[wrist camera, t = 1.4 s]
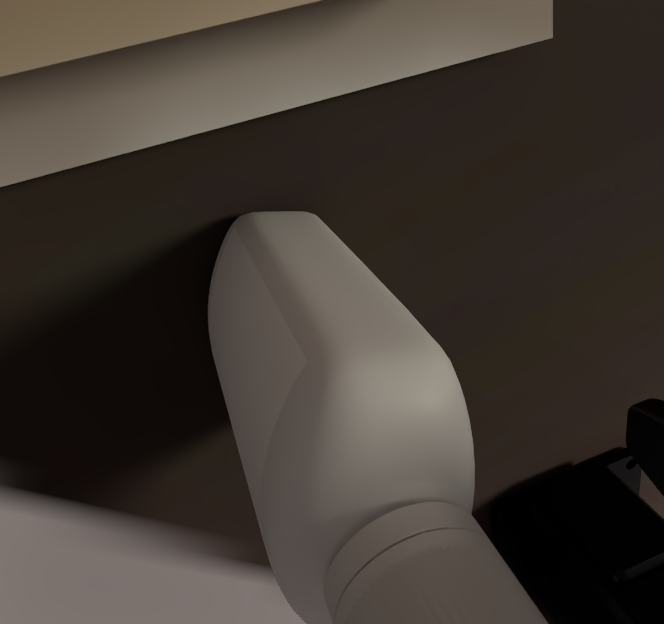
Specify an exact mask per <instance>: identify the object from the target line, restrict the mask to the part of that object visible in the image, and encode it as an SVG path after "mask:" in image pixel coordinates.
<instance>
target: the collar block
mask: <svg viewBox="0 0 664 624" xmlns="http://www.w3.org/2000/svg"><path fill="white" fill-rule="evenodd" d="M550 38H553V0H0V187H2V186H6V185H10V184H14V183H17V182H21V181H25V180H28V179H32V178H36V177H39V176H43V175H47V174H51V173H54V172H58V171H62V170H65V169H69V168H73V167H76V166H80V165H84V164H88V163H91V162H95V161H99V160H102V159H106V158H110V157H113V156H117V155H121V154H124V153H128V152H132V151H136V150H139V149H143V148H147V147H150V146H154V145H158V144H161V143H165V142H169V141H173V140H176V139H180V138H184V137H187V136H191V135H195V134H198V133H202V132H206V131H209V130H213V129H217V128H221V127H224V126H228V125H232V124H235V123H239V122H243V121H246V120H250V119H254V118H258V117H261V116H265V115H269V114H272V113H276V112H280V111H283V110H287V109H291V108H295V107H298V106H302V105H306V104H309V103H313V102H317V101H320V100H324V99H328V98H331V97H335V96H339V95H343V94H346V93H350V92H354V91H357V90H361V89H365V88H368V87H372V86H376V85H380V84H383V83H387V82H391V81H394V80H398V79H402V78H405V77H409V76H413V75H417V74H420V73H424V72H428V71H431V70H435V69H439V68H442V67H446V66H450V65H453V64H457V63H461V62H465V61H468V60H472V59H476V58H479V57H483V56H487V55H490V54H494V53H498V52H502V51H505V50H509V49H513V48H516V47H520V46H524V45H527V44H531V43H535V42H538V41H542V40H546V39H550Z"/></svg>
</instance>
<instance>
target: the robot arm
mask: <svg viewBox="0 0 664 624" xmlns="http://www.w3.org/2000/svg"><path fill="white" fill-rule="evenodd" d="M626 445H627V448H625V449H622V450H620V451H618V452H615V453H613V454H610V455H608V456H606V457H603V458H601V459H599V460H596V461H594V462H592V463H589V464H587V465H584V466H582V467H580V468H577V469H575V470H573V471H570V472H568V473H566V474H563V475H561V476H558V477H556V478H554V479H551V480H549V481H547V482H544V483H542V484H539V485H537V486H535V487H532V488H530V489H528V490H525V491H523V492H521V493H518V494H516V495H513V496H511V497H509V498H506V499H504V500H502V501H500V502H498V503H496V504H495V505H494V506H493V508H492V509H491V511H490V521H491V533H492V544H493V545H494V547H495V548H496V550H497V551H498V553H499V554H500V555H501V557H502V558H503V560H504V561H505V563H506V564H507V565H508V567H509V568H510V570H511V571H512V573H513V574H514V575H515V577H516V578H517V580H518V581H519V583H520V584H521V585H522V587H523V588H524V590H525V591H526V593H527V594H528V595H529V597H530V598H531V600H532V601H533V602H534V604H535V605H536V607H537V608H538V610H539V611H540V612H541V614H542V615H543V617H544V618H545V620H546V621H547V622H548V624H664V519H663V518H662V517H661V516H660V515H659V514H658V513H657V512H656V511H654V510H653V509H652V508H651V507H650V506H649V505H648V504H647V503H646V502H645V501H644V500H643V499H642V498H640V497H639V488H640V478H641V469H642V470H643V471H644V472H645V474H646V475H647V476H648V477H649V479H650V480H651V481H652V482H653V484H654V485H655V486H656V487H657V489H658V490H659V491H660V492H661V494H662V495H663V496H664V401H662V400H659V399H653V398H652V399H647V400H644V401H642V402H639V403H637V404H634V405H632V406H631V407H630V408H629V410H628V415H627V429H626Z"/></svg>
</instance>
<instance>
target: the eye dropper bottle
mask: <svg viewBox="0 0 664 624" xmlns="http://www.w3.org/2000/svg"><path fill="white" fill-rule="evenodd" d="M208 328H209V337H210V343H211V349H212V354H213V358H214V362H215V365H216V369H217V373H218V377H219V380H220V384H221V388H222V391H223V395H224V399H225V402H226V406H227V410H228V413H229V417H230V421H231V425H232V428H233V432H234V436H235V439H236V443H237V447H238V450H239V454H240V458H241V461H242V465H243V468H244V472H245V476H246V479H247V483H248V487H249V490H250V494H251V498H252V501H253V505H254V509H255V512H256V516H257V519H258V523H259V526H260V530H261V533H262V537H263V541H264V544H265V548H266V551H267V555H268V558H269V561H270V564H271V567H272V570H273V572H274V575H275V577H276V580H277V582H278V585H279V586H280V588H281V590H282V592H283V594H284V596H285V598H286V599H287V601H288V603H289V604H290V605H291V607H292V608H293V610H294V611H295V612H296V613H297V614H298V615H299V616H300V617H301V618H302V619H303V620H304V621H305V622H306V623H307V624H548V622H547V621H546V620H545V618H544V617H543V615H542V614H541V612H540V611H539V610H538V608H537V607H536V605H535V604H534V602H533V601H532V600H531V598H530V597H529V595H528V594H527V593H526V591H525V590H524V588H523V587H522V585H521V584H520V583H519V581H518V580H517V578H516V577H515V575H514V574H513V573H512V571H511V570H510V568H509V567H508V565H507V564H506V563H505V561H504V560H503V558H502V557H501V555H500V554H499V553H498V551H497V550H496V548H495V547H494V545H493V544H492V543H491V541H490V540H489V538H488V537H487V535H486V534H485V533H484V531H483V530H482V528H481V527H480V526H479V524H478V523H477V521H476V520H475V518H474V517H473V516H472V515H471V514H472V509H473V498H474V488H475V463H474V450H473V440H472V433H471V427H470V420H469V416H468V412H467V407H466V403H465V400H464V396H463V393H462V390H461V386H460V383H459V381H458V378H457V376H456V373H455V371H454V369H453V366H452V364H451V361H450V360H449V358H448V357H447V355H446V354H445V352H444V351H443V349H442V348H441V347H440V346H439V345H438V343H437V342H436V341H435V340H434V339H433V338H432V337H431V336H430V335H429V333H428V332H427V331H426V330H425V329H424V328H423V327H422V326H421V324H420V323H419V322H418V321H417V320H416V319H415V318H414V317H413V315H412V314H411V313H410V312H409V311H408V310H407V309H406V308H405V307H404V305H403V304H402V303H401V302H400V301H399V300H398V299H397V298H396V297H395V296H394V295H393V294H392V293H391V292H390V291H389V290H388V289H387V288H386V287H385V286H384V285H383V284H382V282H381V281H380V280H379V279H378V278H377V277H376V276H375V275H374V274H373V273H372V272H371V271H370V270H369V269H368V268H367V267H366V266H365V265H364V264H363V263H362V262H361V261H360V259H359V258H358V257H357V256H356V255H355V254H354V253H353V252H352V251H351V250H350V249H349V248H348V247H347V246H346V245H345V244H344V243H343V242H342V241H341V240H340V239H339V238H338V237H337V236H336V235H335V234H334V233H333V232H332V231H331V230H330V229H329V228H328V227H327V226H326V225H325V224H324V223H323V222H322V220H321V219H320V218H319V217H317V216H316V215H315V214H311V213H308V212H301V211H276V212H251V213H248V214H245V215H242V216H239V217H238V218H237V219H236V220H235V221H234V222H233V224H232V225H231V226H230V228H229V230H228V232H227V234H226V236H225V238H224V241H223V243H222V245H221V248H220V251H219V254H218V256H217V259H216V263H215V266H214V270H213V274H212V279H211V284H210V291H209V300H208Z"/></svg>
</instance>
